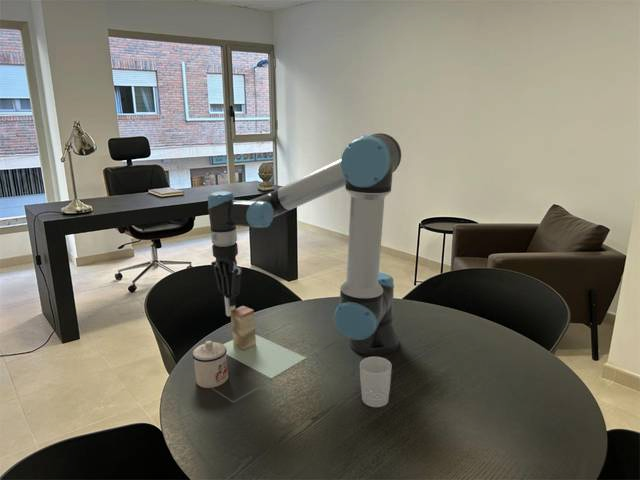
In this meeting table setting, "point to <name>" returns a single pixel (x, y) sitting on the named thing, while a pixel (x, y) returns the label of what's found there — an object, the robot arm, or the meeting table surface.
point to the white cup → (375, 381)
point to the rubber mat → (265, 357)
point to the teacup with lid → (210, 364)
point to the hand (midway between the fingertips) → (230, 314)
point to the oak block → (243, 328)
